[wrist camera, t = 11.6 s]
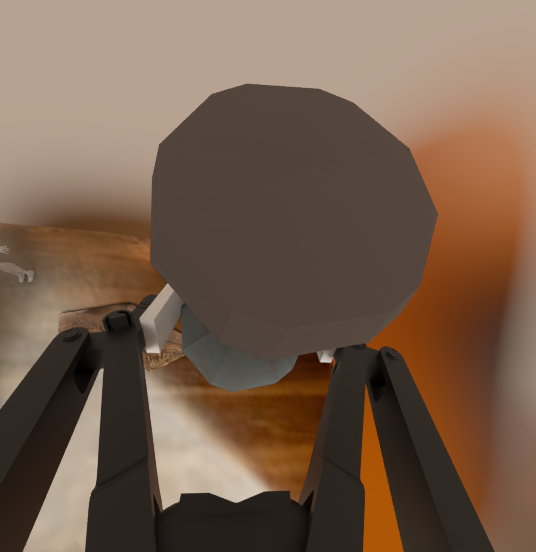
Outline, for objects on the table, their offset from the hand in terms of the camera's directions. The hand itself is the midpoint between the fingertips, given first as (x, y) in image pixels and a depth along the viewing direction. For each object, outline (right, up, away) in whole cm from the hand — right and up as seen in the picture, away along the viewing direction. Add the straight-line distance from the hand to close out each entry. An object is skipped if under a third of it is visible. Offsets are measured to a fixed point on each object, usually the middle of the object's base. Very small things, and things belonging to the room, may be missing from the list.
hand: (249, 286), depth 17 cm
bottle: (-2, -7, +13) cm, 15 cm away
